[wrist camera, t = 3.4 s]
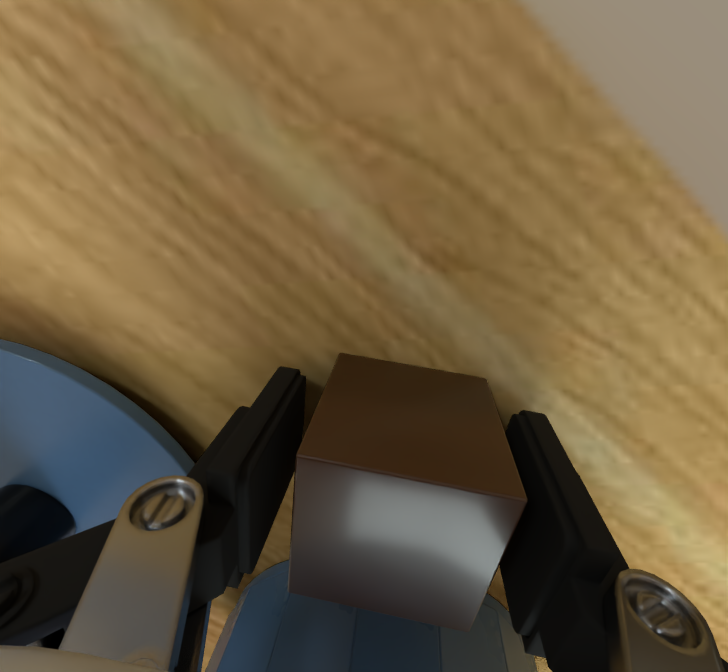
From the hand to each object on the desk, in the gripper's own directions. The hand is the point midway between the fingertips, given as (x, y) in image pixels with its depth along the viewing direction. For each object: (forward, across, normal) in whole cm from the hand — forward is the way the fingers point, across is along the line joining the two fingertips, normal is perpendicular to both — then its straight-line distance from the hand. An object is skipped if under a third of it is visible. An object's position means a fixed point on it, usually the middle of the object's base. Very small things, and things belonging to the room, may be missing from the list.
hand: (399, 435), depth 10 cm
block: (+1, 0, 0) cm, 1 cm away
